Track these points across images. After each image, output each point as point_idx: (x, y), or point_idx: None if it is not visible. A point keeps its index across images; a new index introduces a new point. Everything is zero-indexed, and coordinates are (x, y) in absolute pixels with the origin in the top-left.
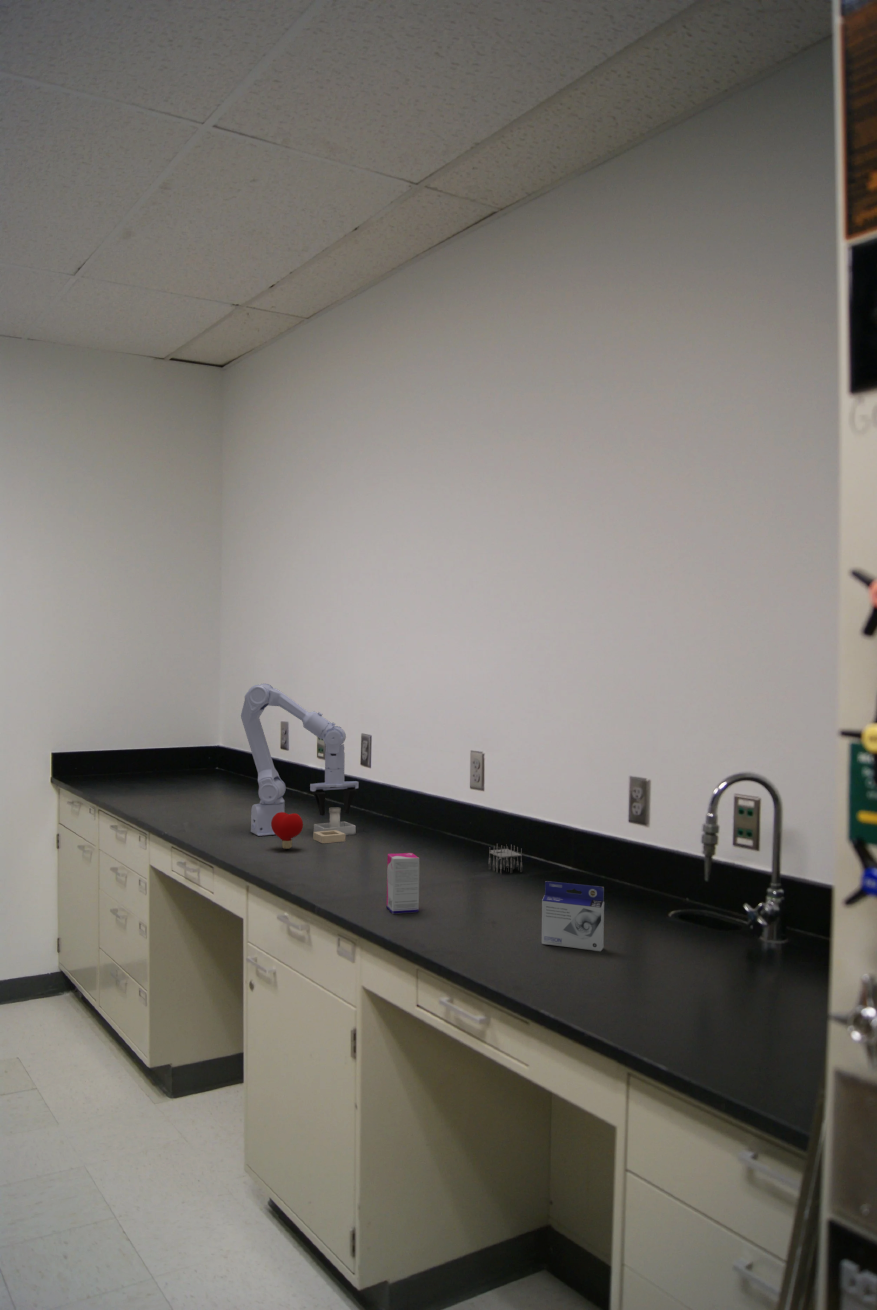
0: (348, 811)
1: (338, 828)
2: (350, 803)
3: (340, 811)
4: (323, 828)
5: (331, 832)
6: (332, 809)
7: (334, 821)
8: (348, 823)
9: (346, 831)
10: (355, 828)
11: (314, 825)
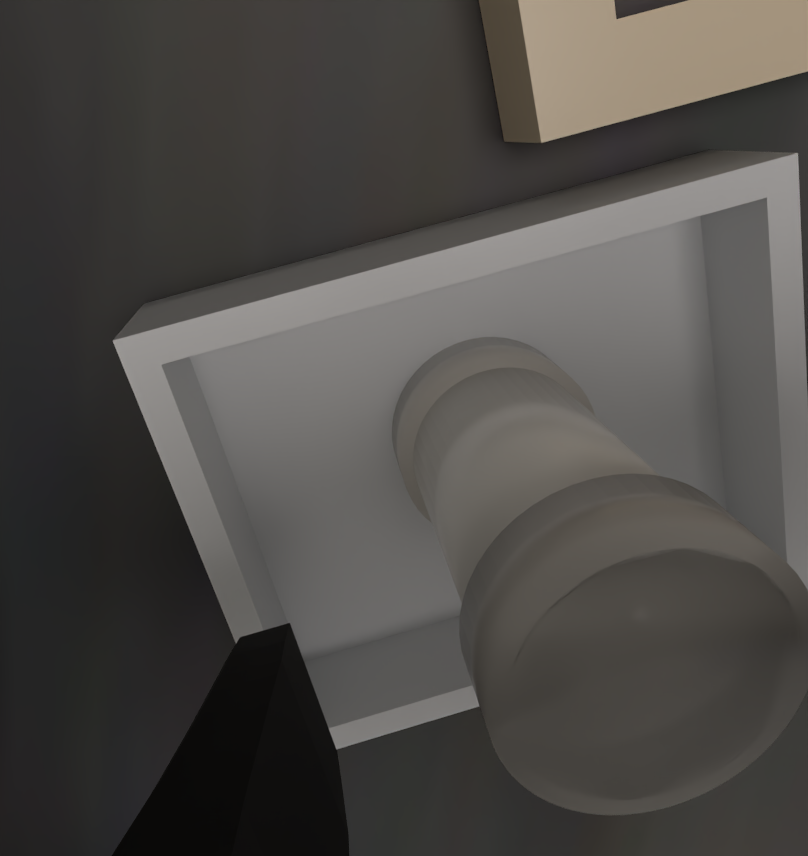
0: (239, 655)
1: (482, 237)
2: (141, 841)
3: (477, 589)
4: (794, 175)
5: (652, 11)
6: (759, 542)
7: (570, 411)
8: (244, 589)
9: (312, 265)
10: (126, 328)
11: (803, 572)
